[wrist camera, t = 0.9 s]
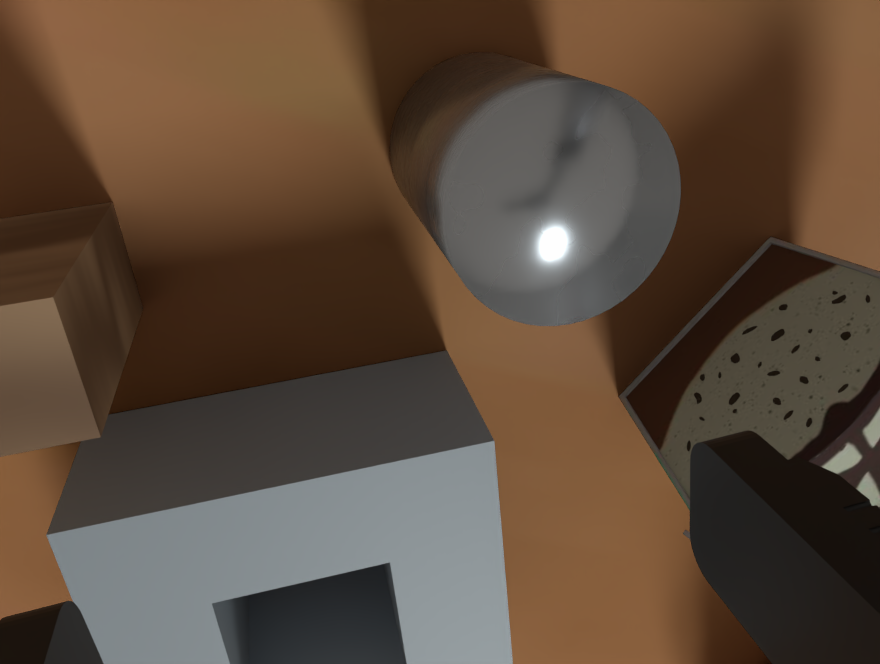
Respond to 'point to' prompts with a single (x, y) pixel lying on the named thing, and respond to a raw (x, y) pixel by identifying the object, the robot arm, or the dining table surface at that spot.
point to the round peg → (536, 185)
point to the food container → (773, 368)
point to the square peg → (62, 325)
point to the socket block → (293, 525)
